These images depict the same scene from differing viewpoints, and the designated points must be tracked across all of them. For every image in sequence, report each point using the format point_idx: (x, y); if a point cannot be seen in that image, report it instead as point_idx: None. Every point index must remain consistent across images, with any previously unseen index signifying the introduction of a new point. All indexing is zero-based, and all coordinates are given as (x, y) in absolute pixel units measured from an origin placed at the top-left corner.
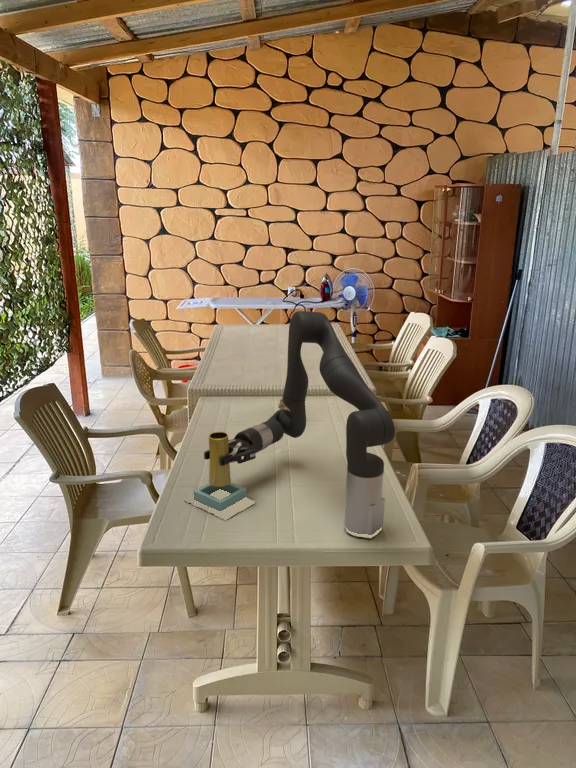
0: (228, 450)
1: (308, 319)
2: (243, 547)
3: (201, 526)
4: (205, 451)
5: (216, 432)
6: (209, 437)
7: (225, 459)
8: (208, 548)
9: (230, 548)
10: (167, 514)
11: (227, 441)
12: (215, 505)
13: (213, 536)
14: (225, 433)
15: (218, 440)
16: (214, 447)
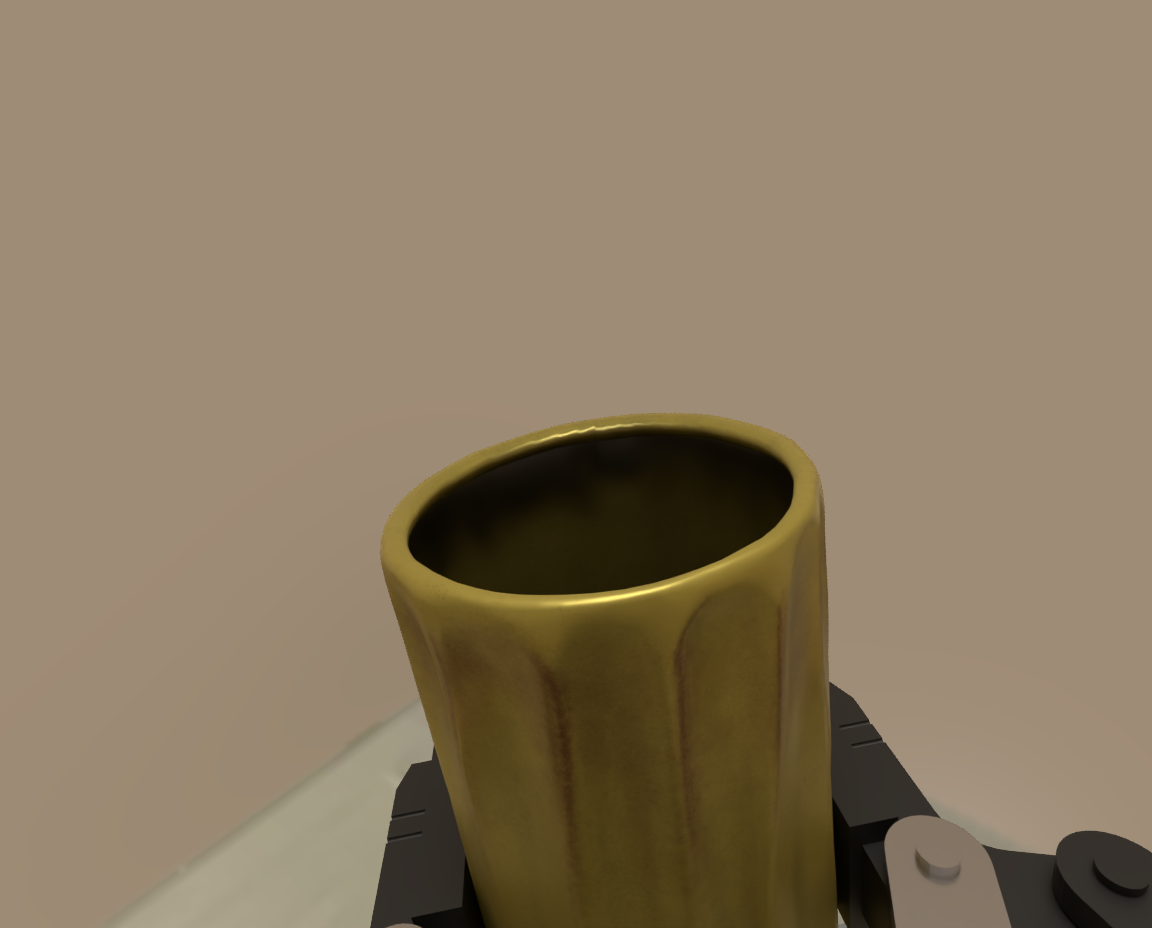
0: (487, 885)
1: None
2: (130, 921)
3: None
4: (849, 700)
5: (793, 500)
6: (641, 419)
7: (414, 793)
8: (325, 771)
9: (209, 855)
10: None
11: (428, 679)
12: None
13: (366, 845)
14: (592, 604)
15: (461, 478)
16: (551, 572)
